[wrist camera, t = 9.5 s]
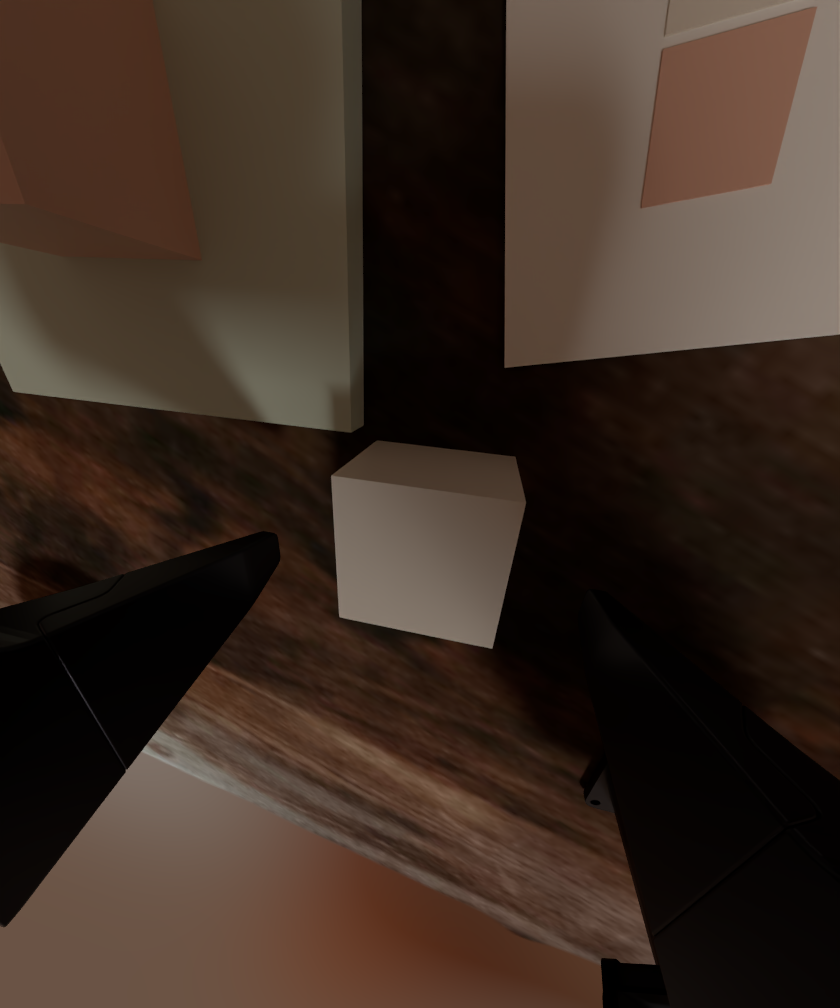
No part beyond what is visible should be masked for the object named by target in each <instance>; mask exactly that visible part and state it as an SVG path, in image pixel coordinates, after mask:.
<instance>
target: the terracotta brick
mask: <svg viewBox="0 0 840 1008" xmlns="http://www.w3.org/2000/svg"><path fill="white" fill-rule="evenodd" d="M0 243H4V244H9V245H13V246H18V247H22V248H27V249H31V250H35V251H40V252H44V253H49V254H53V255H58V256H68V257H102V258H137V259H171V260H202V258H201V253H200V247H199V242H198V237H197V231H196V226H195V221H194V216H193V210H192V205H191V200H190V195H189V189H188V184H187V179H186V174H185V168H184V163H183V158H182V153H181V147H180V142H179V137H178V131H177V126H176V121H175V116H174V110H173V105H172V100H171V95H170V89H169V84H168V79H167V74H166V68H165V63H164V58H163V53H162V47H161V42H160V37H159V31H158V26H157V21H156V16H155V10H154V5H153V0H0Z"/></svg>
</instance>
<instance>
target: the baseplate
mask: <svg viewBox="0 0 840 1008" xmlns="http://www.w3.org/2000/svg"><path fill="white" fill-rule="evenodd" d="M153 5H154V10H155V16H156V21H157V26H158V31H159V37H160V42H161V47H162V53H163V58H164V63H165V68H166V74H167V79H168V84H169V89H170V95H171V100H172V105H173V110H174V116H175V121H176V126H177V131H178V137H179V142H180V147H181V153H182V158H183V163H184V168H185V174H186V179H187V184H188V189H189V195H190V200H191V205H192V210H193V216H194V221H195V226H196V231H197V237H198V242H199V247H200V253H201V258H202V260H171V259H137V258H102V257H68V256H58V255H53V254H49V253H44V252H40V251H35V250H31V249H27V248H22V247H18V246H13V245H9V244H4V243H0V363H1V366H2V368H3V370H4V372H5V374H6V377H7V379H8V381H9V383H10V385H11V388H12V390H13V392H20V393H28V394H37V395H45V396H53V397H61V398H70V399H78V400H86V401H94V402H103V403H111V404H119V405H127V406H136V407H144V408H152V409H160V410H169V411H177V412H185V413H193V414H202V415H210V416H218V417H226V418H235V419H243V420H251V421H259V422H268V423H276V424H284V425H292V426H301V427H309V428H317V429H325V430H334V431H342V432H350V433H351V432H353V431H355V430H357V429H358V428H360V427H362V426H364V365H363V182H362V0H153Z"/></svg>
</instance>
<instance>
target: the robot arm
mask: <svg viewBox="0 0 840 1008" xmlns="http://www.w3.org/2000/svg"><path fill="white" fill-rule="evenodd" d="M279 561H280V549H279V542H278V537H277V535H276V534H275V533H271V532H265V531H262V532H258V533H255V534H252V535H248V536H245V537H242V538H239V539H235V540H232V541H229V542H226V543H222V544H219V545H216V546H213V547H209V548H206V549H203V550H200V551H196V552H193V553H190V554H187V555H183V556H180V557H177V558H174V559H170V560H167V561H164V562H161V563H157V564H154V565H151V566H148V567H144V568H141V569H138V570H135V571H131V572H128V573H126V574H125V575H124V574H121V575H118V576H115V577H112V578H108V579H105V580H102V581H98V582H95V583H92V584H88V585H85V586H81V587H78V588H74V589H71V590H67V591H64V592H60V593H56V594H53V595H49V596H45V597H42V598H38V599H34V600H30V601H27V602H23V603H19V604H15V605H11V606H8V607H4V608H0V926H1V927H6V926H7V925H8V924H9V923H10V921H11V920H12V919H13V918H14V917H15V916H16V914H17V913H18V912H19V911H20V910H21V908H22V907H23V906H24V904H25V903H26V902H27V901H28V899H29V898H30V897H31V895H32V894H33V893H34V891H35V890H36V889H37V887H38V886H39V884H40V883H41V882H42V881H43V880H44V878H45V877H46V876H47V874H48V873H49V872H50V870H51V869H52V868H53V866H54V865H55V864H56V863H57V861H58V860H59V858H60V857H61V856H62V855H63V853H64V852H65V851H66V849H67V848H68V847H69V846H70V844H71V843H72V842H73V840H74V839H75V838H76V836H77V835H78V834H79V832H80V831H81V830H82V829H83V827H84V826H85V825H86V823H87V822H88V821H89V819H90V818H91V817H92V815H93V814H94V813H95V811H96V810H97V809H98V807H99V806H100V805H101V803H102V802H103V801H104V800H105V798H106V797H107V796H108V794H109V793H110V792H111V791H112V789H113V788H114V787H115V785H116V784H117V783H118V781H119V780H120V779H121V777H122V776H123V775H124V774H125V772H126V769H128V768H129V766H130V765H131V764H132V763H133V761H134V760H135V759H136V758H137V756H138V755H139V754H140V752H141V751H142V750H143V748H144V747H145V746H146V744H147V743H148V742H149V741H150V739H151V738H152V737H153V735H154V734H155V733H156V731H157V730H158V729H159V727H160V726H161V725H162V723H163V722H164V721H165V720H166V718H167V717H168V716H169V714H170V713H171V712H172V710H173V709H174V708H175V706H176V705H177V704H178V703H179V701H180V700H181V699H182V697H183V696H184V695H185V693H186V692H187V691H188V689H189V688H190V687H191V686H192V684H193V683H194V682H195V680H196V679H197V678H198V676H199V675H200V674H201V672H202V671H203V670H204V669H205V667H206V666H207V665H208V663H209V662H210V661H211V659H212V658H213V657H214V655H215V654H216V653H217V652H218V650H219V649H220V648H221V646H222V645H223V644H224V642H225V641H226V640H227V638H228V637H229V636H230V635H231V633H232V632H233V631H234V629H235V628H236V627H237V625H238V624H239V623H240V621H241V620H242V619H243V618H244V616H245V615H246V614H247V612H248V611H249V610H250V608H251V607H252V605H253V604H254V602H255V601H256V599H257V598H258V596H259V595H260V593H261V591H262V590H263V588H264V587H265V585H266V583H267V582H268V580H269V578H270V577H271V575H272V574H273V572H274V570H275V569H276V567H277V565H278V564H279ZM578 624H579V632H580V639H581V646H582V654H583V661H584V668H585V674H586V679H587V683H588V687H589V691H590V695H591V699H592V703H593V707H594V710H595V714H596V718H597V722H598V726H599V730H600V734H601V738H602V742H603V745H604V749H605V755H604V757H603V758H602V760H601V762H600V764H599V765H598V767H597V769H596V771H595V772H594V774H593V776H592V778H591V779H590V781H589V783H588V785H587V786H586V788H585V790H584V798H585V802H586V804H587V805H589V806H591V807H594V808H598V809H601V810H605V811H609V812H613V813H615V816H616V820H617V823H618V827H619V831H620V835H621V838H622V842H623V846H624V849H625V853H626V857H627V860H628V864H629V868H630V872H631V875H632V879H633V883H634V886H635V890H636V894H637V897H638V901H639V905H640V909H641V912H642V916H643V920H644V923H645V927H646V931H647V934H648V938H649V942H650V946H651V949H652V953H653V957H654V960H655V964H656V965H649V964H630V963H620V962H619V961H618V960H617V959H608V958H602V959H601V970H602V984H603V1008H840V780H839V779H837V778H836V777H835V776H833V775H832V774H831V773H829V772H828V771H827V770H825V769H824V768H823V767H821V766H820V765H819V764H818V763H816V762H815V761H814V760H812V759H811V758H810V757H808V756H807V755H806V754H804V753H803V752H802V751H801V750H799V749H798V748H797V747H796V746H794V745H793V744H792V743H791V742H789V741H788V740H787V739H786V738H784V737H783V736H782V735H781V734H779V733H778V732H777V731H776V730H774V729H773V728H772V727H771V726H769V725H768V724H767V723H766V722H764V721H763V720H762V719H761V718H759V717H758V716H757V715H756V714H755V713H753V712H752V711H751V710H750V709H749V708H747V707H746V706H742V703H741V702H740V701H739V700H737V699H736V698H735V697H734V696H733V695H731V694H730V693H729V692H728V691H726V690H725V689H724V688H723V687H722V686H720V685H719V684H718V683H717V682H716V681H714V680H713V679H712V678H711V677H709V676H708V675H707V674H706V673H705V672H703V671H702V670H701V669H700V668H698V667H697V666H696V665H695V664H694V663H692V662H691V661H690V660H689V659H687V658H686V657H685V656H684V655H683V654H681V653H680V652H679V651H678V650H676V649H675V648H674V647H673V646H672V645H670V644H669V643H668V642H667V641H666V640H664V639H663V638H662V637H661V636H659V635H658V634H657V633H656V632H655V631H653V630H652V629H651V628H650V627H648V626H647V625H646V624H645V623H644V622H642V621H641V620H640V619H639V618H637V617H636V616H635V615H634V614H633V613H631V612H630V611H629V610H628V609H627V608H625V607H624V606H623V605H622V604H620V603H619V602H618V601H617V600H616V599H614V598H613V597H612V596H611V595H609V594H608V593H607V592H605V591H600V590H595V589H589V590H588V591H587V592H586V594H585V597H584V599H583V602H582V605H581V607H580V610H579V613H578Z"/></svg>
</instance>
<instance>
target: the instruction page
mask: <svg viewBox="0 0 840 1008" xmlns="http://www.w3.org/2000/svg"><path fill="white" fill-rule="evenodd" d="M838 334H840V0H506V145H505V357H504V368H507V367H517V366H527V365H537V364H547V363H557V362H567V361H577V360H588V359H598V358H608V357H618V356H628V355H638V354H648V353H658V352H668V351H678V350H688V349H698V348H708V347H718V346H728V345H738V344H748V343H758V342H768V341H778V340H788V339H798V338H808V337H818V336H828V335H838Z"/></svg>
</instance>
